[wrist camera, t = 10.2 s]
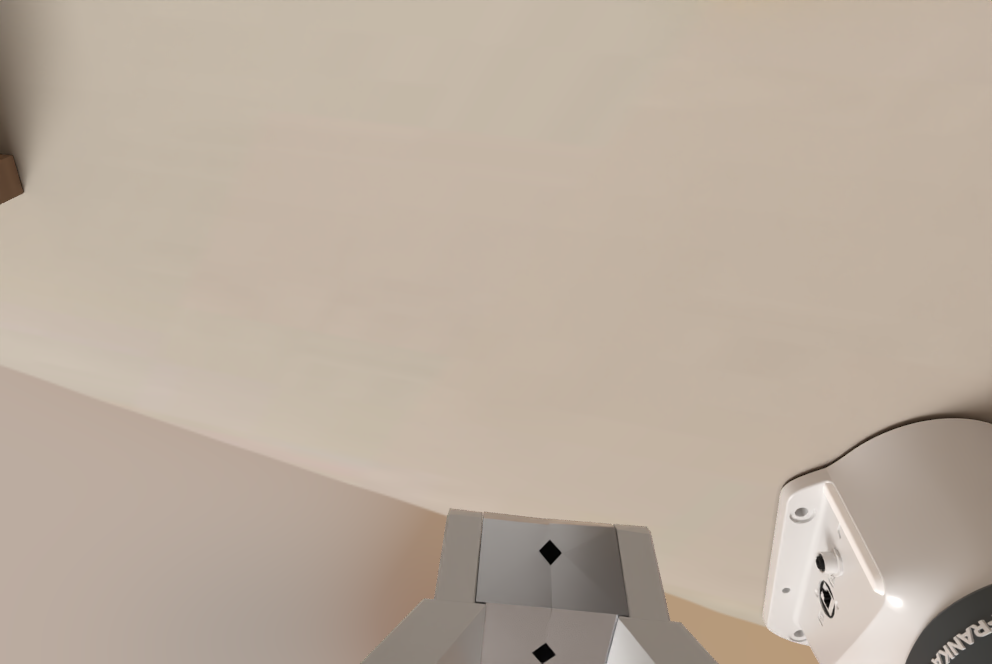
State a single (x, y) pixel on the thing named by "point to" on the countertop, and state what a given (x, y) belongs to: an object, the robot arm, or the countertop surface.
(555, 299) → the countertop surface
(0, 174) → the bridge
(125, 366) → the countertop surface
